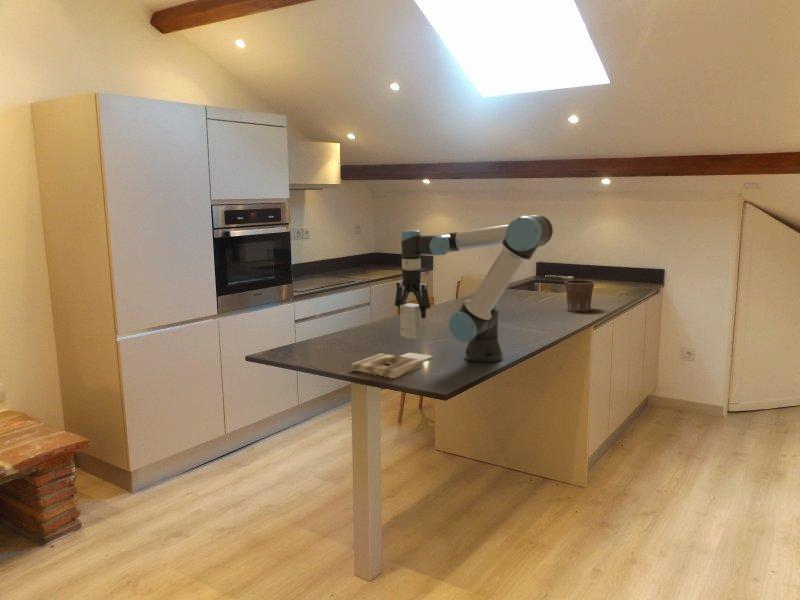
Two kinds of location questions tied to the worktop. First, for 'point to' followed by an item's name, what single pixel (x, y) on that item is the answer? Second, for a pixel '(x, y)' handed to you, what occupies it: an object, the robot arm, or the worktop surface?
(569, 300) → the plant pot
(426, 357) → the ceramic tile
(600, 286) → the worktop surface
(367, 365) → the pocket block
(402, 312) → the small box
